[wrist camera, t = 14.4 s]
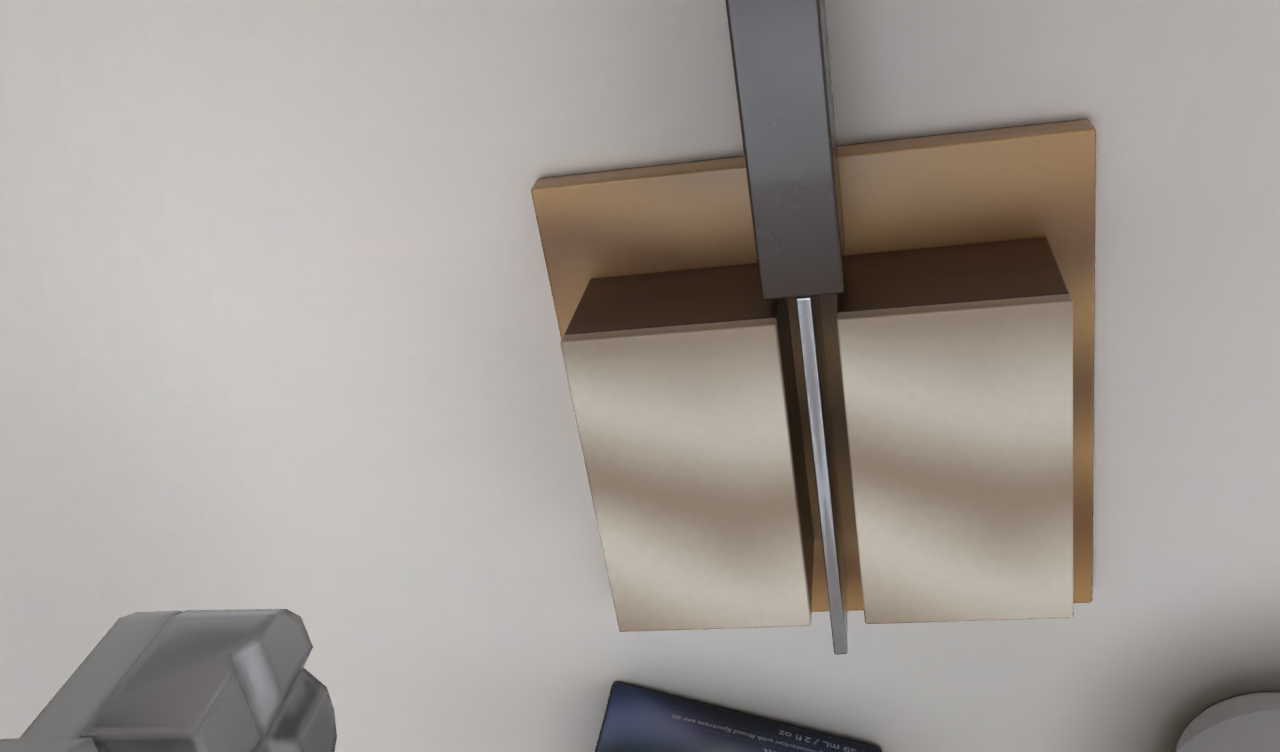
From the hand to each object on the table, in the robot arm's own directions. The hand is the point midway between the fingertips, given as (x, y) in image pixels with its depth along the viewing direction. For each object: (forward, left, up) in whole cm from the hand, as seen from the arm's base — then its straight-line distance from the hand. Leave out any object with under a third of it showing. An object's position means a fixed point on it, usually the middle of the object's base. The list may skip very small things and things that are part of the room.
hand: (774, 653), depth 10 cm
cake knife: (+8, -1, -26) cm, 27 cm away
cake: (+12, -1, -27) cm, 30 cm away
